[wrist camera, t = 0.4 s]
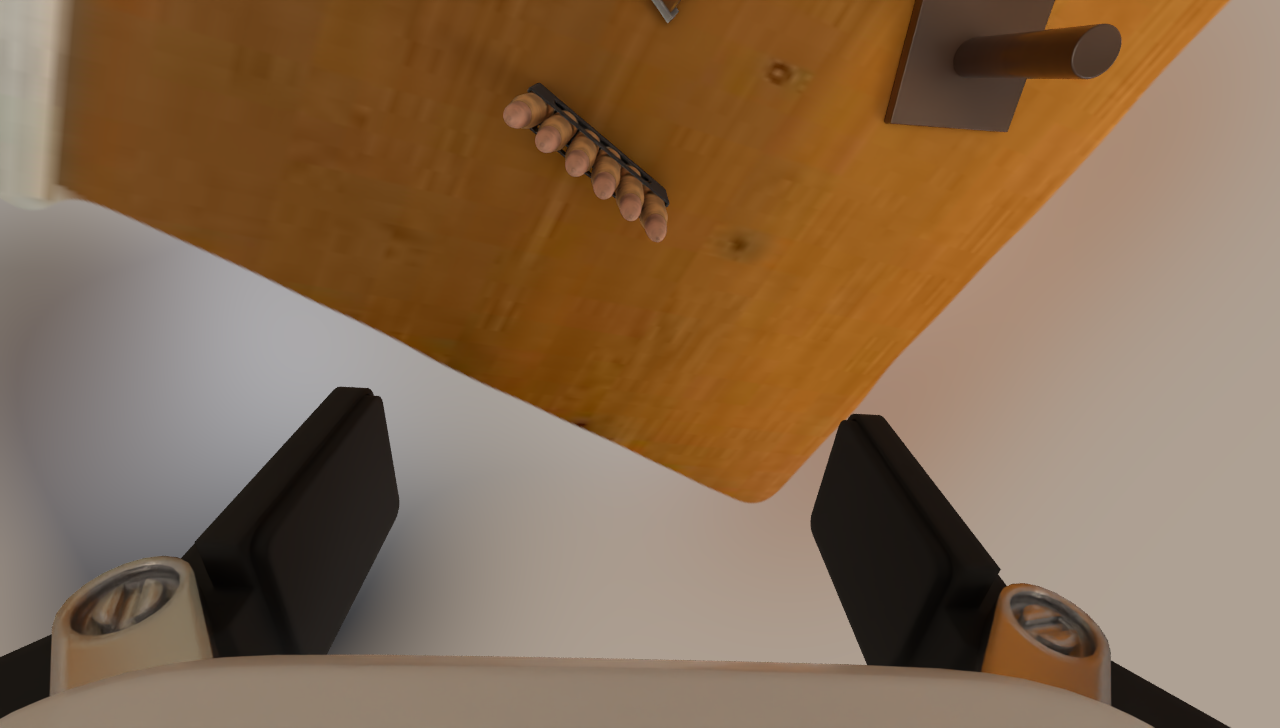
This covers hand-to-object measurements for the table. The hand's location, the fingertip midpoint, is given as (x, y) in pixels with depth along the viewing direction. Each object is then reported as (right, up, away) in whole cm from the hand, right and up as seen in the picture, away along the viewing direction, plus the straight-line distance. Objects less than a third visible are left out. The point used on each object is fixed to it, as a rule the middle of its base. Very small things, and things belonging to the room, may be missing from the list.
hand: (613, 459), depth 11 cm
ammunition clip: (-2, +16, +25) cm, 30 cm away
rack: (+21, +21, +23) cm, 38 cm away
